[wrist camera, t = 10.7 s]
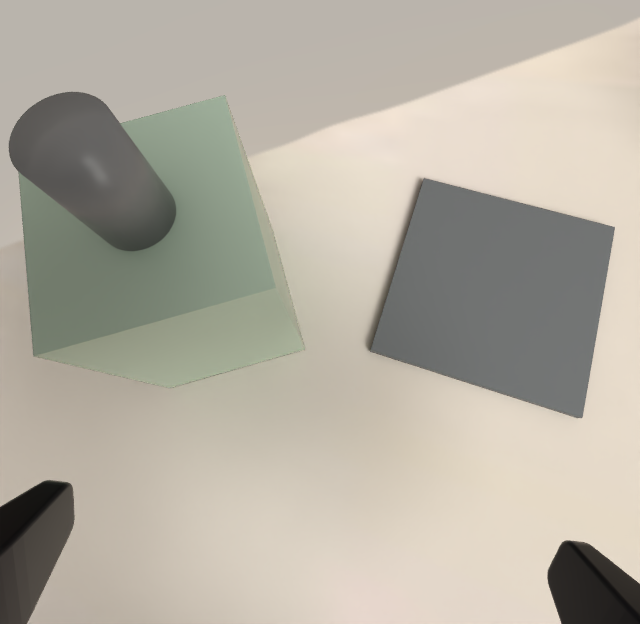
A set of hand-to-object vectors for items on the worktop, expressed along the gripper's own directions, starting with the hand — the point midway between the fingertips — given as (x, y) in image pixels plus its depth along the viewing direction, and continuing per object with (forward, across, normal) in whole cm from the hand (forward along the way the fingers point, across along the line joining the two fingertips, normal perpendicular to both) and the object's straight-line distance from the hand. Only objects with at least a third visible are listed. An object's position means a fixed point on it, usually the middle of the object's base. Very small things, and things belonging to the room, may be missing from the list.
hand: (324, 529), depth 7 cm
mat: (+14, -9, -2) cm, 17 cm away
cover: (+15, +5, +2) cm, 16 cm away
